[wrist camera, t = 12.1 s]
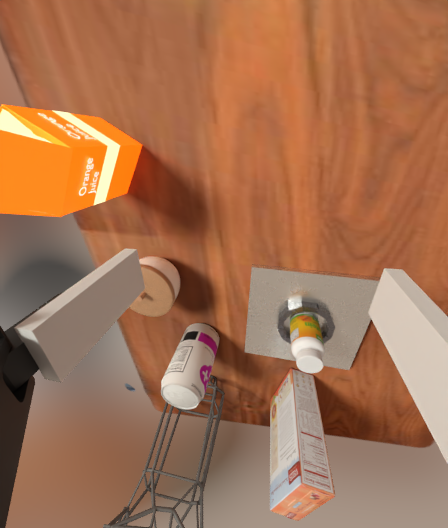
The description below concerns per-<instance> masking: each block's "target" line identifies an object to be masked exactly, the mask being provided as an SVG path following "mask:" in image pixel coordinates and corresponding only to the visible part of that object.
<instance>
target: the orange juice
mask: <svg viewBox="0 0 448 528" xmlns="http://www.w3.org/2000/svg"><path fill="white" fill-rule="evenodd" d="M141 148H142V144H140V143H139V142H137V141H136V140H134V139H132V138H131V137H129V136H128V135H126V134H125V133H123V132H122V131H120V130H118V129H117V128H115V127H114V126H112V125H111V124H109V123H108V122H106V121H104V120H103V119H101V118H100V117H93V116H85V115H78V114H70V113H67V112H59V111H48V110H41V109H33V108H26V107H17V106H11V105H3V104H2V107H0V213H5V214H21V215H39V216H55V217H56V216H57V217H61V216H63V215H66V214H69V213H72V212H75V211H77V210H80V209H83V208H86V207H89V206H92V205H96V204H99V203H101V202H104V201H106V200H109V199H112V198H115V197H117V196H120V195H123V194H126V193H127V192H128V189H129V186H130V183H131V179H132V176H133V173H134V170H135V167H136V164H137V161H138V158H139V154H140V151H141Z"/></svg>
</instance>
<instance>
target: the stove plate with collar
mask: <svg viewBox="0 0 448 528" xmlns="http://www.w3.org/2000/svg"><path fill="white" fill-rule="evenodd" d="M380 279H381V278H380V277H370V276H361V275H352V274H342V273H333V272H323V271H314V270H305V269H295V268H286V267H277V266H267V265H258V264H252V272H251V283H250V295H249V307H248V318H247V330H246V342H245V352H247V353H252V354H258V355H264V356H270V357H276V358H282V359H287V360H293V361H296V358H295V357H294V355H293V354H292V351H291V338H290V320H291V318H292V317H293V316H294V315H295V314H297V313H302V312H306V313H310V314H313V315H314V316H315V317H316V318H317V319H318V321H319V324H320V329H321V334H322V339H323V343H324V347H325V354H324V356H323V358H322V360H323V366H328V367H334V368H340V369H346V370H350V367H351V365H352V363H353V360H354V358H355V356H356V353H357V351H358V349H359V346H360V344H361V342H362V339H363V337H364V335H365V332H366V330H367V328H368V325H369V323H370V320H371V317H370V316H369V314H368V312H369V309H370V306H371V304H372V301H373V298H374V295H375V293H376V290H377V287H378V284H379V282H380Z"/></svg>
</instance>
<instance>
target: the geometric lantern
mask: <svg viewBox="0 0 448 528" xmlns="http://www.w3.org/2000/svg"><path fill="white" fill-rule="evenodd" d="M210 377H211V381H210V382H208V383H209V384H212V386H210V385H207V387H208V388H212V389H213V394H208V393H205V395H210V396H212V400H206V399H202V401H208V402H212V404H211V409H210V414H209V415H207V414H203V413H198V412H193V411H189V410H184V409H180V408H177V407H176V408H177V409H178V410H179V413H178V416H177V419H176V422H175V425H174V428H173V430H172V434H171V436H170V439H169V442H168V445H167V448H166V451H165V454H164V457H163V460H162V463H161V466H160V469H159V470H155V468H156V465H157V461H158V458H159V455H160V451H161V448H162V444H163V441H164V437H165V434H166V430H167V427H168V424H169V421H170V417H171V414H172V411H173V407H174V406H172V405H171V408H170V411H169V415H168V418H167V421H166V425H165V428H164V431H163V435H162V438H161V441H160V444H159V448H158V451H157V454H156V458H155V461H154V465H153V468H148V466H149V463H150V460H151V457H152V453H153V450H154V447H155V444H156V441H157V437H158V434H159V431H160V428H161V425H162V422H163V418H164V415H165V412H166V409H167V406H168V402H167V401H166V404H165V407H164V410H163V414H162V417H161V420H160V423H159V426H158V429H157V432H156V435H155V438H154V442H153V445H152V448H151V451H150V454H149V457H148V460H147V463H146V466H145V470H143V475H142V477H141V479H140V481H139V483H138V485H137V487H136V489H135V491H134V493H133V495H132V498H131V500H130V502H129V504H128V506H127V507H124V509H123V511H122V512H121V513H120V514H119V515H118V516H117V517H116V518H114V520H112V521H111V522H110V523H109V524H108V525H106V524H105V525H104V526H103V528H152V526H153V522H154V526H155V528H156V520H155V513H156V511H160V512H170V513H171V516H170V523H169V528H171V525H172V519H173V516H174V518H175V519H176V521H177V523H178V525H177V527H176V528H179V527H180V528H185V527H184V525H183V524H182V522H183V520H184V519H185V517H186V515H187V514H188V512H189V511H190V509H191V507H192V506H193V505H196V509H197V510H196V511H197V528H199V521H198V505H200V528H203V491H204V486H205V482H206V478H207V473H208V469H209V465H210V460H211V456H212V451H213V447H214V442H215V438H216V434H217V429H218V425H219V421H220V417H221V412H222V406H223V400H224V394H225V393H224V392H223V391H222V390H220V389H219V388H218V387H217V386H216V378H215V377H213V376H211V375H210ZM212 378H214V383H212ZM216 390H217V391H219V392H220V393H222V398H221V402H220V406H219V409H218V407H217V404H216V402H215V399H216ZM214 403H215V406H216V408H217V411H218V414H217V415H214V410H213V406H214ZM181 411H183V412H187V413H192V414H196V415H201V416H206V417H209V419H208V423H207V429H206V433H205V439H204V443H203V448H202V453H201V458H200V463H199V468H198V472H197V477H196V480H192V479H188V478H185V477H181V476H177V475H173V474H170V473H166V472H163V471H161V470H162V467H163V464H164V461H165V458H166V455H167V452H168V449H169V446H170V443H171V440H172V437H173V434H174V431H175V428H176V425H177V422H178V419H179V416H180V413H181ZM216 417H217V419H216V423H215V427H214V431H213V435H212V439H211V444H210V448H209V452H208V456H207V460H206V464H205V469H204V473H203V477H202V481H201V482H200V481H199V477H200V472H201V469H202V464H203V460H204V456H205V452H206V448H207V444H208V440H209V435H210V431H211V427H212V423H213V419H214V418H216ZM211 418H212V419H211ZM210 421H211V422H210ZM145 472H151V476H150V479H149V483H148V485H147V480H146V474H145ZM154 472H156V473H158V475H157V478H156V481H155V484H154ZM160 474H163V475H167V476H170V477H174V478H178V479H182V480H186V481H189V482H193V483H194V485H193V486H192V487H191V488H190V489H189V490H188V491H187V493H186V494H185V495H184V496H183V497H182V498H181V499H177V498H173V497H169V496H166V495H162V494H158V493H155V489H156V486H157V483H158V480H159V476H160ZM143 477H144V480H145V485H146V490H145V491H144V492H143V494H142V495H141V496H140V498H139V499H138V500H137V502H136V503H135V504H134V506H133V507H132V508H131V510H130V511H129V506H130V503H131V501H132V499H133V497H134V495H135V493H136V491H137V489H138V487H139V485H140V483H141V481H142V479H143ZM150 485H151V488H150ZM197 485H198V486H199V487H200V497H199V501H194V497H195V493H196V489H197ZM194 486H195V487H194ZM193 487H194V491H193V495H192V499H191V502H189V501H185V500H183V499H184V498H185V497H186V496H187V494H188V493H189V492H190V491H191V490H192V489H193ZM147 491H150V492H151V499H152V508H150V509H148V510H145V511H143V512H141V513H138V514H136V515H134V516H131V517H129V516H130V515H131V513H132V512H133V510H134V509H135V507H136V506H137V505H138V503H139V502H140V501H141V499H142V498H143V497H144V495H145V494H146V493H147ZM155 496H159V497H163V498H167V499H171V500H175V501H178V503H177V504H176V505H175V506H174V507H173V508H170V507H161V506H155ZM180 502H182V503H186V504H190V506H189V507H188V509H187V510H186V512H185V514H184V515H183V517H182V519H181V520H180V518H179V516H178V514H177V512H176V511H175V508H176V507H177V506H178V505H179V504H180ZM152 512H153V516H152V520H151V524H150V526H149V527H138V526H127V523H129V522H131V521H134V520H136V519H138V518H141V517H143V516H145V515H147V514H150V513H152ZM125 513H126V514H125ZM124 514H125V516H124V518H123V520H122V521H121V519H122V517H123V515H124ZM125 518H126V519H125ZM117 521H118V522H117ZM116 522H117V523H116Z"/></svg>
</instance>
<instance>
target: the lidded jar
mask: <svg viewBox="0 0 448 528" xmlns="http://www.w3.org/2000/svg"><path fill="white" fill-rule="evenodd" d="M139 262H140V266H141V271H142V275H143V280H144V284H145V289H144V290H143V291H142V293H141V294H140V295H139V296H138V297H137V298H136V299H135V300H134V302H133V303H132V304H131V305H130V306H129V308H131V309H132V310H134V311H135V312H137V313H139V314H142V315H145V316H151V317H156V316H161V315H164V314H166V313H167V312H168V311H169V310H170V309H171V307H172V306H173V304H174V301H175V300H176V298H177V296H178V293H179V290H180V276H179V273H178V271H177V269H176V268H175V266H174V265H173V264H172V263H171V262H169V261H168V260H166V259H164V258H161V257H156V256H150V257H144V258H141V259H139Z"/></svg>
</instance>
